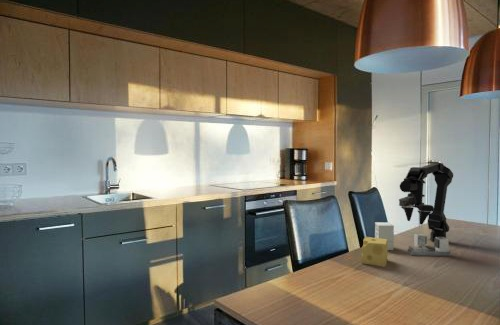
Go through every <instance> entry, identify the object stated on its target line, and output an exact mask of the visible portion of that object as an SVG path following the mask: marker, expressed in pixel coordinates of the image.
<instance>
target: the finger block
mask: <svg viewBox="0 0 500 325" xmlns="http://www.w3.org/2000/svg"><path fill="white" fill-rule="evenodd" d="M427 239H428V236H426V235H425V234H423V233H414V235H413V245H414V246H415V247H417V248H422V246H425V247H426V245H427Z"/></svg>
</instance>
